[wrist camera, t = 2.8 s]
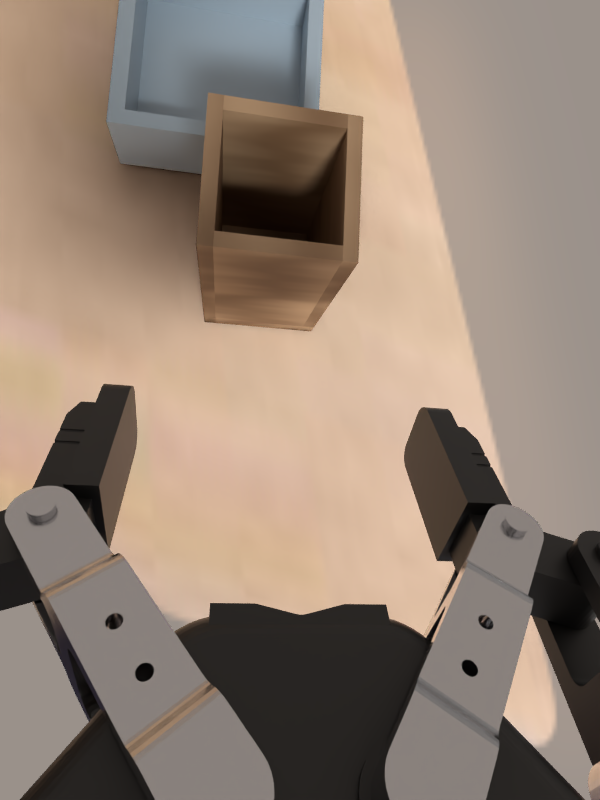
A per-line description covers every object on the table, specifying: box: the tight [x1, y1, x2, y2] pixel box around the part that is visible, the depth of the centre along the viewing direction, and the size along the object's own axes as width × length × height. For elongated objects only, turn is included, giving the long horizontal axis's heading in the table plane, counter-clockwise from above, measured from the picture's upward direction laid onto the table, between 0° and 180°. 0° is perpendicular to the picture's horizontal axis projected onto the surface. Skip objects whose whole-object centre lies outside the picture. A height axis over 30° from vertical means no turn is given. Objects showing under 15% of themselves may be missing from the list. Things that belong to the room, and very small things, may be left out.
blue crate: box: [106, 0, 324, 174], centre depth 28 cm, size 11×11×4 cm
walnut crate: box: [196, 93, 363, 331], centre depth 24 cm, size 6×6×10 cm
